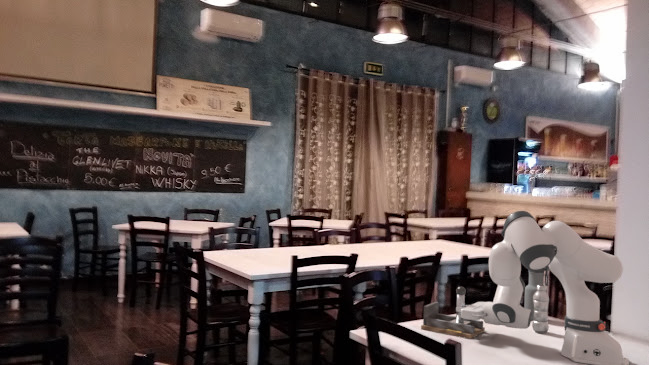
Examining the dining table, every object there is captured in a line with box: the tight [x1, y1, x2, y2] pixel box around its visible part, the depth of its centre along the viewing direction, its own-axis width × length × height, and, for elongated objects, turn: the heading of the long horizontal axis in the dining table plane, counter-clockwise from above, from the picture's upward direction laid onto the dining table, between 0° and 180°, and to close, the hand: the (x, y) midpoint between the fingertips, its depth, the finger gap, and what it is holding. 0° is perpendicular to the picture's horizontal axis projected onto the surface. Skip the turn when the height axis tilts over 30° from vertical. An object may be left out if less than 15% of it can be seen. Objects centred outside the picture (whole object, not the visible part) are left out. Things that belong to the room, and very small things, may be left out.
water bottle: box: [523, 265, 550, 322], centre depth 256 cm, size 10×10×28 cm
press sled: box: [450, 286, 471, 325], centre depth 230 cm, size 7×8×17 cm
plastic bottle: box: [531, 284, 550, 334], centre depth 233 cm, size 6×7×20 cm
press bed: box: [420, 301, 486, 340], centre depth 232 cm, size 22×16×10 cm
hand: (458, 307), depth 230 cm, fingers closed on press sled, 3 cm apart
